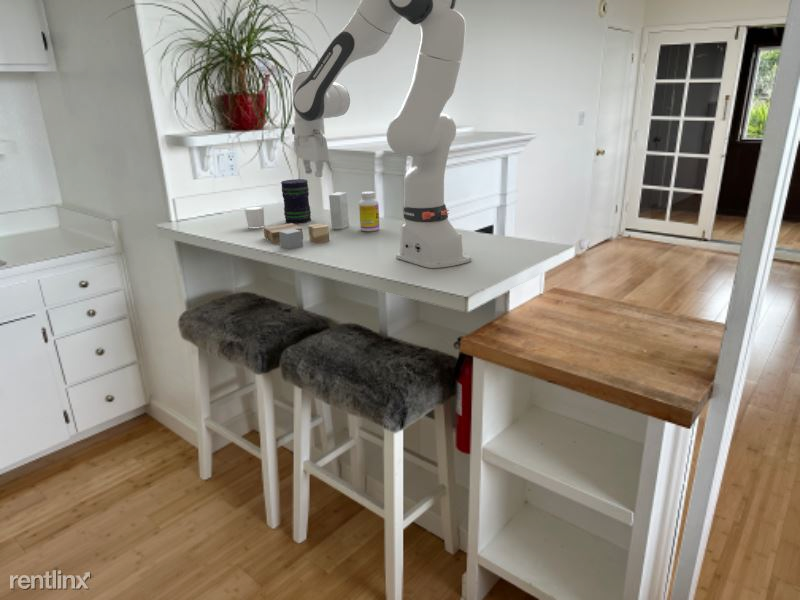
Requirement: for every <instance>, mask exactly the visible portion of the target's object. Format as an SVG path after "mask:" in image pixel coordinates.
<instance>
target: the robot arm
mask: <svg viewBox="0 0 800 600" xmlns="http://www.w3.org/2000/svg"><path fill="white" fill-rule="evenodd" d="M456 4H457V0H360V2H359V4H358V6H357V8H356V9H355V11H354V13H353V15H352V16H351V18H350V19H349V21H348V22H347V24H346V25H345V27H343V29H342V30H341V31H340V32H339V33H338V34H337V35H336V36H335V38H333V40H332V41H331V42H330V43H329V45H328V46H327V47H326V49H325V51H324V52H323V54H322V55H321V57H320V58H319V60H318V61H317V63H316V65H314V67H313V69H312V70H306V71H301V72H298V73H296V74H294V75H293V76H292V81H291V98H292V99H291V101H292V102H291V103H292V107H293V110H294V116H293V120H294V122H293V123H294V124H293V126H292V127H291V134H292V135H293V142H294V148H295V154H296V156H297V158H298V159H302V163H303V167H304V172H305V174H307V175H309V174H312V173H313V171H312V169H313V168H312V167H311V162H313V163H314V165H315V170H314V174H315V175H314V176H315V178H316V177H317V178H321V177H323V168H324V163H328V162H329V158H330V156H329V149H328V141H327V138H326V137H325V136H324V135H325V134H326V132H325V119H330V118H337V117H342V116H343V115H345V114H346V113H347V112H348V110H349V107H350V104H351V99H350V93H349V91H348V90H347V88H346V86H344V85H343V84H341V83H338V82H335V81H337V79H338V77H339V76H340V74H341V72H342V71H343V70H344V69H345V68H346V67H347V66H349V65H350V64H351V63H353V62H356V61H358V60H360V59H363V58H367V57H370V56H373V55H376V54H378V53H379V52H380V51H381V50H382V49H384V47H385V46H386V45H387V43H388V42H389V41H390V39H391V37H392V35H393V34H394V32H395V30H396V28H397V27H398V25H399V24H400V22H401V20H402V19H405V20H407V21H408V22H410V24H411V25H414V26H415V25H419V27H420V32H421V38H420V39H421V40H420V44H419V48H418V52H417V56H416V62H415V67H414V71H413V76H412V79H411V80H412V81H411V83H410V87H409V90H408V92H407V94H406V97H405V99H404V101H403V103H402V105H401V108H400V110H398V113H397V115H396V116H395V117H394V118H393V119H392V121H391V122H390V123H389V124H388V126H387V129H386V141H387V145H388V146H389V147H390V149H391V150H392V151H393V152H394V153H395V154H397V155H400V156H406V157H411V159H410V162H409V167H408V169H407V171H406V173H405V174H404V178H403V190H404V192H403V193H404V205H403V210H402V213H403V218H404V222H403V224H402V225H401V228H400V231H399V233H400V235H399V252H397V253H396V254H395V258H396V259H398V260H401V261H405V262H408V263H411V264H415V265H419V266H421V267H425V268H428V269H439V268H440V269H441V268H448V267H453V266H459V265H463V264H465V263H469V262H471V261H472V256H471V255H469V254H468V253H466V252H465V251H463V242H462V241H463V240H462V239H463V236H462V234H461V233H458V232H457V230H456V229H455V227H454V226H453V225H452V224H451V222H450V221H449V214H450V213H449V211H450V210H449V209H447V206H446V203H445V173H446V167H447V161H448V157H449V152H450V149H451V146H452V144H453V142H454V141H455V137H456V135H457V126H456V123H455V121H454V119H453V118H452V117H451V116H450V115H449V114H447V113H444V112H443V110H444V108H445V106H446V104H447V103H448V101H449V100H450V99H451V97H452V96H453V94H454V92H455V89H456V85H457V84H456V83H457V79H458V76H459V75H458V74H459V71H460V66H461V62H462V58H463V55H464V47H465V39H466V27H467V26H466V19H465V18H464V16H463V15H462V14H461V13H460V12H459V11H457V10H455V8H456Z"/></svg>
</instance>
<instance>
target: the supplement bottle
mask: <svg viewBox="0 0 800 600" xmlns="http://www.w3.org/2000/svg"><path fill="white" fill-rule="evenodd" d="M360 195H361V200H359V202H358V211H359V226H360V227H359V228H360V230H361V231H363V232H375V231H378V230H379V229H380V228H381V226H380V211H379V210H380V209H379V208H380V207H379V201H378V199H376V198H375V197H376V192H375V191H370V190H369V191H362V192H361V193H360Z"/></svg>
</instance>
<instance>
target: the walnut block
mask: <svg viewBox="0 0 800 600" xmlns="http://www.w3.org/2000/svg"><path fill="white" fill-rule="evenodd" d="M262 228H263V236H264V237H265V238H266V239H265V238H264V239H265V240H267V239H268V240H269V241H268V240H267V241H268V242H270V241H271V242H270V243H271V244H273V243H274V245H276V244H280V236H279V231H284V230H288V229H296V230H300V231H301V232H302V240H304V234H303V228H302V227H300V226H299V225H297V224H293V223H289V224H288V223H284V224H278V225H277V224H276V225H270V226H264V227H262ZM275 243H276V244H275Z"/></svg>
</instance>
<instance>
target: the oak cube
mask: <svg viewBox="0 0 800 600" xmlns="http://www.w3.org/2000/svg"><path fill="white" fill-rule="evenodd" d="M329 230H330V228H329V225H327V224H325V223H323V222H322V223H316V224H309V225H308V235H309V241H310V242H312V243H313V244H320V243H326V242H330V231H329Z"/></svg>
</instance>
